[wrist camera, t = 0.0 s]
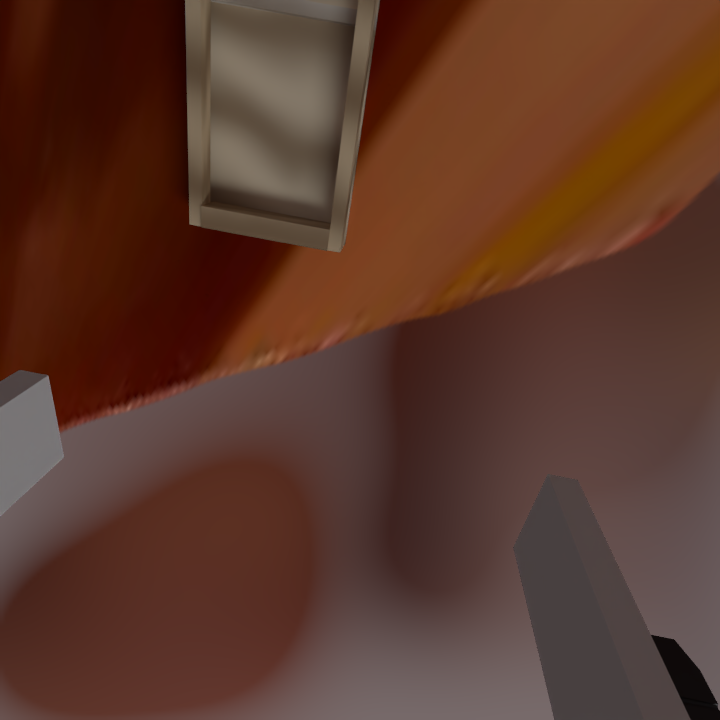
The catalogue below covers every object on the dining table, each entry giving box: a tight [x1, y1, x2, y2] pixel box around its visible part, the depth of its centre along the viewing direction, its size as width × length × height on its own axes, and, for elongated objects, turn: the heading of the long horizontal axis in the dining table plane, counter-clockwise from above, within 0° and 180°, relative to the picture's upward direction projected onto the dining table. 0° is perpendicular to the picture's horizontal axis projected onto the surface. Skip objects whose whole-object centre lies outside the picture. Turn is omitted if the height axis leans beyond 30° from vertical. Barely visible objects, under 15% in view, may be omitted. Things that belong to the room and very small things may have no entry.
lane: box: [185, 0, 380, 252], centre depth 31 cm, size 22×12×3 cm, turn 171°
